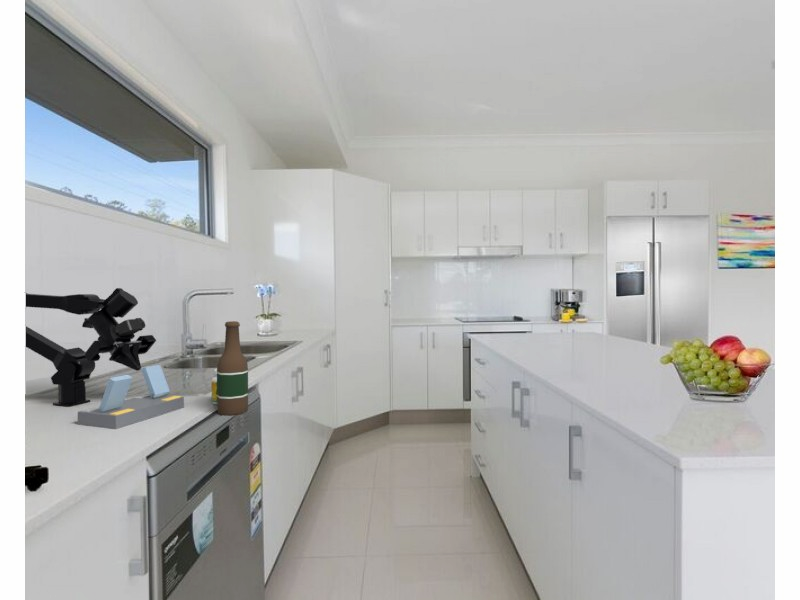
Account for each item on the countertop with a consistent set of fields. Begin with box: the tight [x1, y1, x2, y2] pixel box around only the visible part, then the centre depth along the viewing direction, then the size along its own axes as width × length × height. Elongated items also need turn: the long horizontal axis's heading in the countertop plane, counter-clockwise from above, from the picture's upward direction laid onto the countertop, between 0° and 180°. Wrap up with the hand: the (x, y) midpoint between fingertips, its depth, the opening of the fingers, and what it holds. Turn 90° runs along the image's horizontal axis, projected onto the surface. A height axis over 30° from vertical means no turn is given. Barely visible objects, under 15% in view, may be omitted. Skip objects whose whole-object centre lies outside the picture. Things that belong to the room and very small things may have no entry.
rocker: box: [140, 364, 171, 398], centre depth 126 cm, size 2×5×9 cm, turn 162°
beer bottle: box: [216, 320, 249, 417], centre depth 122 cm, size 8×8×24 cm
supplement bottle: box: [211, 368, 217, 406], centre depth 133 cm, size 5×5×10 cm
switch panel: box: [77, 393, 185, 430], centre depth 119 cm, size 12×21×3 cm, turn 162°
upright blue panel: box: [99, 374, 134, 412], centre depth 111 cm, size 2×5×9 cm, turn 162°
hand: (139, 369), depth 128 cm, fingers closed
